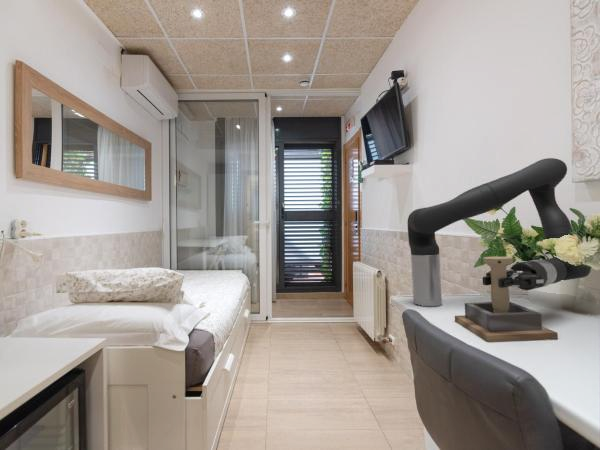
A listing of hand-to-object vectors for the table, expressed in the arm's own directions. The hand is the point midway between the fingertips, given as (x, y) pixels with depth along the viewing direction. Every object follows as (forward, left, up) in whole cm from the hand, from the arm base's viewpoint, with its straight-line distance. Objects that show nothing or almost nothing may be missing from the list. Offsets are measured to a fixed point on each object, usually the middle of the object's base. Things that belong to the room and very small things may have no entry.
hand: (492, 282), depth 79 cm
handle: (-1, +3, -9) cm, 10 cm away
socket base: (-1, +2, -12) cm, 13 cm away
